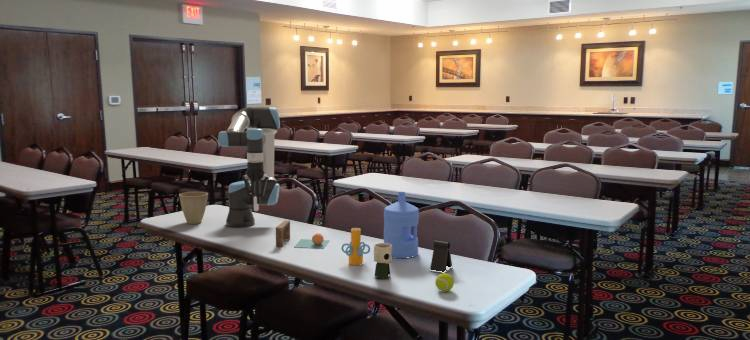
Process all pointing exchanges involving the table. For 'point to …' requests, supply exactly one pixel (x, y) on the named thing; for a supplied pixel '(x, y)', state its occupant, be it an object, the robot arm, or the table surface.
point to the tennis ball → (444, 282)
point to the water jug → (401, 227)
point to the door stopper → (441, 256)
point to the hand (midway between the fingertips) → (256, 210)
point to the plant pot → (193, 206)
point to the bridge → (282, 233)
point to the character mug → (382, 259)
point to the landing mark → (310, 244)
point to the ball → (317, 239)
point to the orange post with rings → (355, 247)
